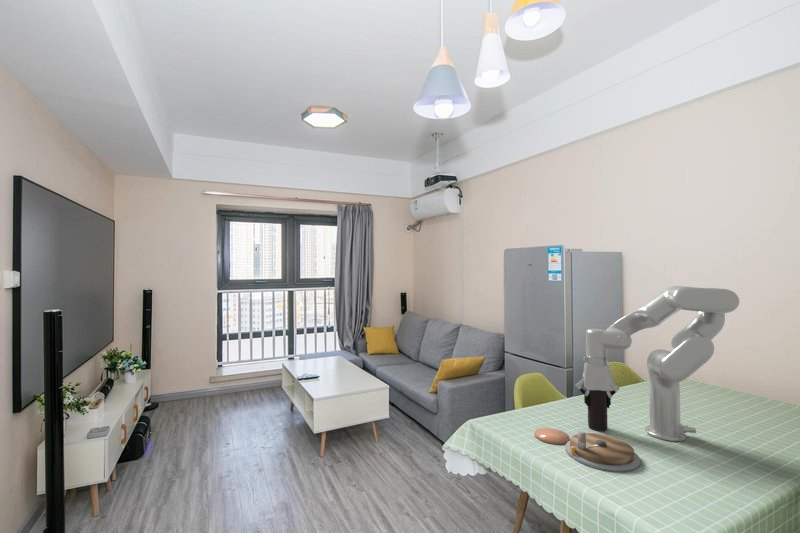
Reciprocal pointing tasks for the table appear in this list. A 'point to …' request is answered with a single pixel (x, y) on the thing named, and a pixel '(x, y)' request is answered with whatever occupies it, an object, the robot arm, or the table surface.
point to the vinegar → (597, 410)
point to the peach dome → (551, 436)
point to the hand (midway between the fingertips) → (597, 405)
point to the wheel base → (606, 467)
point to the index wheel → (602, 448)
